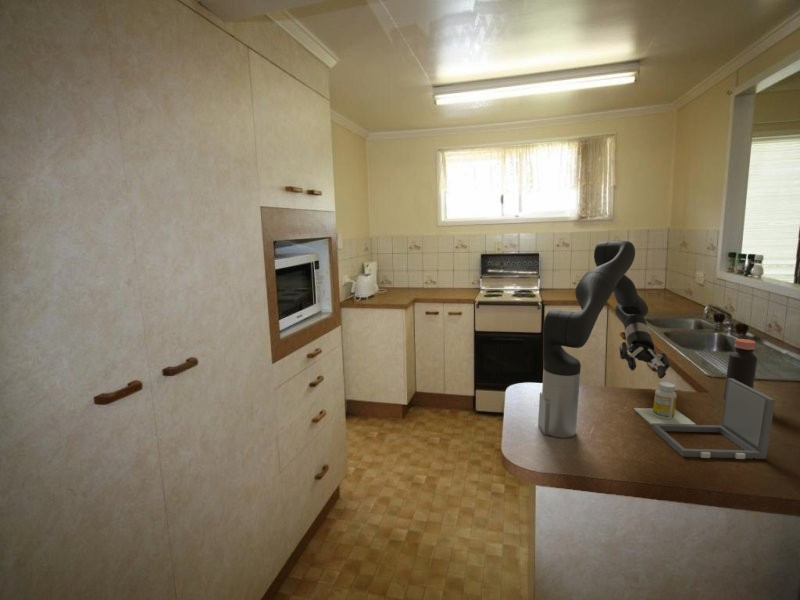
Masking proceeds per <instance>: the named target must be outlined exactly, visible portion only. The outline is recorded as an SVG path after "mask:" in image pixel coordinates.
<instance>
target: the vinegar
mask: <svg viewBox="0 0 800 600" xmlns="http://www.w3.org/2000/svg"><path fill="white" fill-rule="evenodd" d="M734 340H735V341H734V350H733V352H731V353H729V354H728V362H727V370H726V377H725V384H724V385H725V386H724V391H723V393H724V394H723V400H724V401H725V395H726V387H727V380H728V378H733V379H735V380H737V381H739V382H741V383H743V384H745V385H747V386H749V387H751V388H753V389H754V387H755V386H754V384H755V380H756V379H755V377H756V370H757V364H758V358H757V356H756V355H755V354H754V351H755V349H756V344H757V343H756V341H754V340H752V339H746V338H736V339H734Z"/></svg>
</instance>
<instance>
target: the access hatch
mask: <svg viewBox="0 0 800 600" xmlns="http://www.w3.org/2000/svg"><path fill="white" fill-rule="evenodd" d="M775 404H776V399H774V398H772V397H770V396H769V395H767V394H764V393H762V392H761V391H759V390H757V389H755V388H754V387H753V388H751V387H749V386H747V385H745V384H743V383H741V382H739V381H737V380H735V379H733V378H728V380H727V387H726V395H725V400H724V404H723V411H722V417H721V423H720V425H712V424H710V425H709V424H703V425H702V424H696V425H675V424H653V425H651V429H652V430H653V431H654V433H656V434H657V435H658V436H659V437H660V438H661V439H662V440H663V441H665V442H666V443H667V444H668V445H669V446H670V447H671V448H673V450H675V451H676V452H677V453H678V454H679V455H680V456H681V457H683V458H684V457H687V458H701V459H703V458H704V459H711V458H716V459H717V458H719V459H720V458H721V459H726V458H727V459H737V460H745V459H753V458H755V459H756V460H757V459H758V460H760V459H762V460H766V459H767V454H768V447H769V441H770V436H771V429H772V423H773V416H774V410H775ZM667 432H681V433H682V432H684V433H685V432H688V433H690V432H691V433H692V432H693V433H718V434H721V435H722V436H723V437H725V438H726V437H727V438H726V439H728V440H729V439H730V440H729V441H731V442H732V441H733V442H734V445H736V444H737V446H738V447H739V446H740V447H739V448H741V449H738V450H737V449H709V448H708V449H704V448H703V449H702V448H701V449H700V448H685V447H684V446H682V445H681V444H680V443H679V442H678V441H677V440H676V439H675V438H673V437H672V436H671V435H670V434H669V433H667ZM733 442H732V443H733ZM743 449H744V450H743Z"/></svg>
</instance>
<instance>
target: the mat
mask: <svg viewBox="0 0 800 600" xmlns="http://www.w3.org/2000/svg"><path fill="white" fill-rule="evenodd" d="M633 410H634V411H635V412H636V413H637V414H638V415H639V416H640V417H641V418H643V420H645V421H646V422H648V424H649V425H651V426H652V425H653V424H675V425H697V424H696V423H695V422H693V421H692V420H691V419H690V418H688V417H687V416H686V415H684V414H683V413H681V412H680V411H678V410H677V409H676V408H675V414H674V418H672V419H662V418H659V417H656V416H655V415H654V414H653V407H652V408H648V407H646V408H645V407H640V408H639V407H633Z"/></svg>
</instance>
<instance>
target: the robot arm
mask: <svg viewBox="0 0 800 600" xmlns="http://www.w3.org/2000/svg"><path fill="white" fill-rule="evenodd" d="M635 257H636V248H635V246H634V243H632V242H630V241H628V240H607V241H600V242H598V243H597V244H596V246H595V248H594V251H593V259H594V263H595V265H596V267H594V268H592V269H590V270H588V271H587V272H586V273H585V274H584V275H583V276H582V277H581V279H580V280H579V282H578V283H577V285H576V287H575V292H574V293H575V295H574V296H575V299H576V301H577V303H578V305H579V307H580V308H581V309H580V310H581V311H578V312H574V311H567V310H561V309H560V310H558V309H552V310H551V309H550V310H549V311H548V312H547V313H546V315H545V317H544V320H543V325H542V326H543V327H542V361H543V370H542V389H541V391H542V392H540V393H539V401H538V403H539V404H538V420H537V421H538V422H537V425H538V427H539V428H540V430H541V432H542V434H543V435H544V436H546V435H548V436H552V437H555V438H559V439H560V438H562V439H565V438H567V439H568V438H572V437H574V436H575V435H576V434H577V425H578V424H577V423H578V408H579V394H580V382H581V370H582V369H581V366H582V364H581V362H580V360H579V359H578V358H576V357H574V356H572V354H570V353H568V352H567V351H566V350H565V349H564V347H566V348H574V349H580V348H582V347H584V346H585V345H586V344H587V342H588V340H589V338H590V336H591V334H592V331H593V329H594V327H595V325H596V322H597V321H598V318H599V316H600V314H601V312H602V311H603V309H604V308H605V305H606V304H607V302H608V301H609V300H610V298H611V296H612V294H614V297H615V300H616V303H618V304H617V305H616V306H615V308H614V312H615V315H616V317H617V319H618V320H619V321H620V322H621V323H622V324H623V328H624V331H625V332H624V333H625V339H626V341H625V342H624V341H623V342H622V343H621V344H620V346H619V347H618V349H619V357H620V359H621V360H625V361H626V362H627V366H628V368H629V369H630V370H631V371H632V372H633V371H635V369H636V368H637V363H636V360H637V361H642V362H644V363H647V364H648V365H650V366H651V367H653V368H654V369H656V372H657V373H656V374H657V377H658V378H659V379H663V378H665V376H666V375H667V373H666V372H667V370H668V369H669V368H670V367H671V364H670V362H669V360H668V357H667V355H666V354H667V353H664V352H662V353H661V354H659V353H657V352H656V351H655V344H654V341H653V338H652V335H651V332H650V329H649V326H648V324H647V321H646V319H645V317H646V316H647V315H648V313H649V307H648V305H647V302H646V301H645V300H644V299H643V298H642V297H641V296H640V295H639V294H638V291H637V289H636V285H635V283H634V282H633V280H632V279H631V277H628V275H626V273H627V271H629V269H630V268H631V267H632V265H633V263H634V260H635ZM628 352H629V353H630V354H629V353H628Z"/></svg>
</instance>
